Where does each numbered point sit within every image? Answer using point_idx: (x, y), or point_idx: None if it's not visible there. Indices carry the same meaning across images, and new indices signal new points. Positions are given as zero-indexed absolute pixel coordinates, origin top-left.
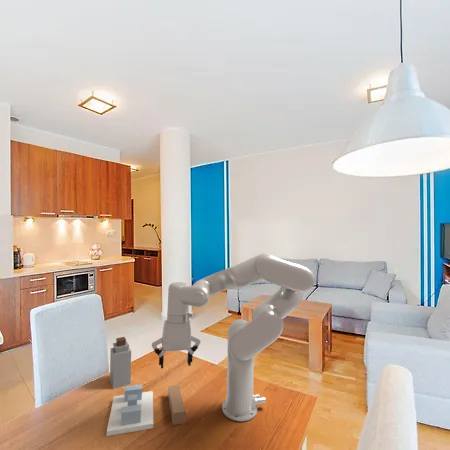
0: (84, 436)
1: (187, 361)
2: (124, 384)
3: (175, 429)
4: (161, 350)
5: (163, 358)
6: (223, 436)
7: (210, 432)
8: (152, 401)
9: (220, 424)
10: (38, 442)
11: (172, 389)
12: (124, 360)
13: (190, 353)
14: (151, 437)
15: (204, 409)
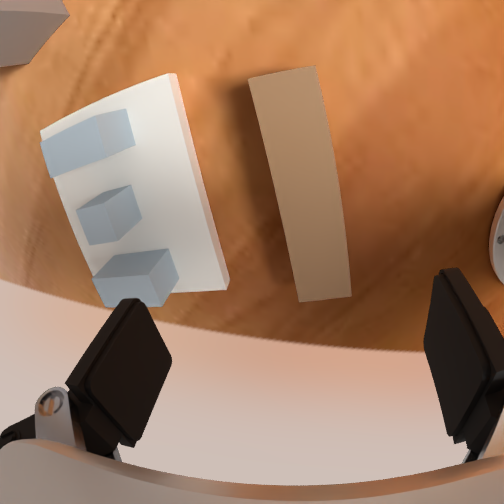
0: (65, 278)
1: (436, 282)
2: (50, 32)
3: None
4: (58, 437)
5: (141, 435)
6: None
7: (420, 315)
8: (186, 157)
9: None
10: (13, 277)
11: (279, 115)
12: None
13: (471, 449)
14: (233, 312)
15: (433, 205)
